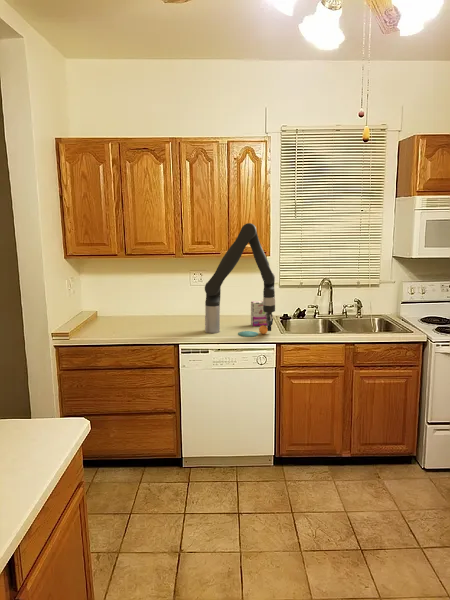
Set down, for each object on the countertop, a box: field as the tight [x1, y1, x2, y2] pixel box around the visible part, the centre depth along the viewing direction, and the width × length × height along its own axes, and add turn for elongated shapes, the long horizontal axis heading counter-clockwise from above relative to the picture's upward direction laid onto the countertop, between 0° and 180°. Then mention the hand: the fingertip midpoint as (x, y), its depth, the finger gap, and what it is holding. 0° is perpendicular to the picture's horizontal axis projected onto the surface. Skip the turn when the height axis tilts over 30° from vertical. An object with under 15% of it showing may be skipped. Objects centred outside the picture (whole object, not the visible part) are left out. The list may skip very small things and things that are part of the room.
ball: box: [258, 325, 269, 335], centre depth 283 cm, size 6×6×6 cm
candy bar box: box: [250, 300, 267, 327], centre depth 304 cm, size 11×5×16 cm, turn 105°
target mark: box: [237, 330, 260, 338], centre depth 283 cm, size 13×13×1 cm
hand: (269, 330), depth 283 cm, fingers closed
